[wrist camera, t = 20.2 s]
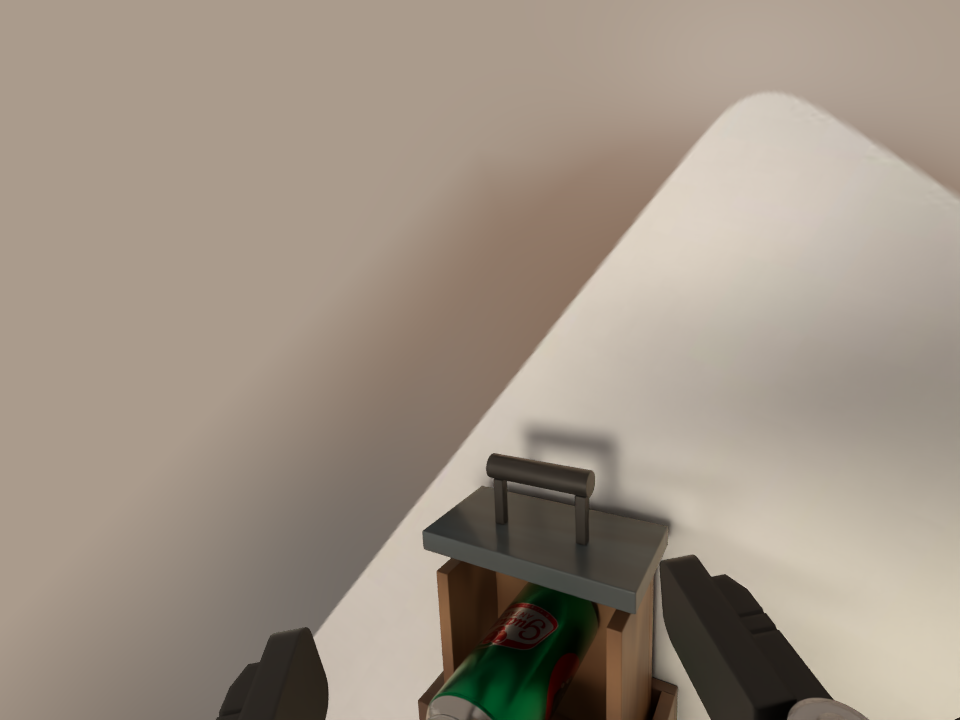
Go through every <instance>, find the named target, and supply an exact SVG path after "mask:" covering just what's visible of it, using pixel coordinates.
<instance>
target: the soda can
mask: <svg viewBox="0 0 960 720" xmlns="http://www.w3.org/2000/svg"><path fill="white" fill-rule="evenodd" d="M597 629H598V622H597V616H596V613H595V610H594V608H593V605H592V603H591V602H590V601H589V600H586V599H583V598H579V597H576V596H573V595H570V594H567V593H563V592H560V591H557V590H554V589H550V588H547V587H544V586H541V585H538V584H534V583H531V582H528V583H527V584H526V585H525V586H524V588H523V589H522V590H521V591H520V593H519V594H518V595H517V596H516V597H515V599H514V600H513V601H512V602H511V604H510V605H509V606H508V607H507V608H506V610H505V611H504V612H503V613H502V614H501V616H500V617H499V618H498V619H497V621H496V622H495V623H494V624H493V625H492V627H491V628H490V629H489V630H488V632H487V633H486V634H485V635H484V636H483V638H482V639H481V640H480V641H479V643H478V644H477V645H476V646H475V647H474V649H473V650H472V651H471V652H470V654H469V655H468V656H467V657H466V658H465V660H464V661H463V662H462V663H461V665H460V666H459V667H458V668H457V669H456V671H455V672H454V673H453V674H452V676H451V677H450V678H449V679H448V680H447V682H446V683H445V684H444V685H443V687H442V688H441V689H440V690H439V691H438V693H437V694H436V695H435V696H434V698H433V699H432V700H431V702H430V704H429V706H428V709H427V716H426V720H551V719H552V717H553V715H554V713H555V711H556V710H557V708H558V706H559V704H560V702H561V700H562V698H563V697H564V695H565V693H566V691H567V689H568V687H569V685H570V683H571V682H572V680H573V678H574V676H575V674H576V672H577V670H578V669H579V667H580V665H581V663H582V661H583V659H584V657H585V656H586V654H587V652H588V650H589V648H590V646H591V644H592V642H593V641H594V639H595V636H596V634H597Z"/></svg>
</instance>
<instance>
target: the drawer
mask: <svg viewBox="0 0 960 720" xmlns="http://www.w3.org/2000/svg"><path fill="white" fill-rule="evenodd" d="M486 471H487V475H488V476H489V477H491V478H494V488H489V487H485V486H481V487H480V488H479V489H477V490H476V491H475V492H473V493H472V494H471V495H469V496H468V497H467V498H465V499H464V500H463V501H462V502H460V503H459V504H458V505H456V506H455V507H454V508H452V509H451V510H450V511H448V512H447V513H446V514H444V515H443V516H442V517H440V518H439V519H438V520H436V521H435V522H434V523H433V524H431V525H430V526H429V527H427V528H426V529H425V530H423V532H422V533H423V547H424V549H425V550H428V551H432V552H435V553H438V554H441V555H444V556H448V557H451V559H450V560H449V561H447V562H446V563H445V564H444V565H443V566H442V567H441V568H440V569H438V570H437V584H438V598H439V612H440V626H441V641H442V655H443V669H444V683H446V682H447V680H448V679H449V678H450V677H451V676H452V674H453V673H454V672H455V671H456V669H457V668H458V667H459V666H460V665H461V663H462V662H463V661H464V660H465V658H466V657H467V656H468V655H469V654H470V652H471V651H472V650H473V649H474V647H475V646H476V645H477V644H478V643H479V641H480V640H481V639H482V638H483V636H484V635H485V634H486V633H487V632H488V630H489V629H490V628H491V627H492V625H493V624H494V623H495V622H496V621H497V619H498V618H499V617H500V616H501V614H502V613H503V612H504V611H505V610H506V608H507V607H508V606H509V605H510V604H511V602H512V601H513V600H514V599H515V597H516V596H517V595H518V594H519V593H520V591H521V590H522V589H523V588H524V586H525V585H526V584H527V583H528V582H531V583H534V584H538V585H541V586H544V587H547V588H550V589H554V590H557V591H560V592H563V593H567V594H570V595H573V596H576V597H579V598H583V599H586V600H589V601H590V602H591V603H592V605H593V608H594V610H595V613H596V616H597V622H598V629H597V634H596V636H595V639H594V641H593V642H592V644H591V646H590V648H589V650H588V652H587V654H586V656H585V657H584V659H583V661H582V663H581V665H580V667H579V669H578V670H577V672H576V674H575V676H574V678H573V680H572V682H571V683H570V685H569V687H568V689H567V691H566V693H565V695H564V697H563V698H562V700H561V702H560V704H559V706H558V708H557V710H556V711H555V713H554V715H553V717H552V719H551V720H651V684H652V631H653V578H654V573H655V571H656V569H657V567H658V565H659V563H660V560H661V558H662V556H663V554H664V552H665V549H666V547H667V545H668V526H664V525H659V524H655V523H650V522H646V521H641V520H637V519H632V518H627V517H623V516H618V515H614V514H609V513H604V512H600V511H595V510H591V509H589V497H590V496H591V495H592V493H593V490H594V486H595V474H594V472H593V471H591V470H586V469H580V468H575V467H569V466H563V465H558V464H552V463H546V462H541V461H535V460H530V459H524V458H518V457H513V456H507V455H501V454H496V453H493V454H491V455H490V457H489V459H488V461H487V466H486ZM507 481H511V482H516V483H520V484H525V485H530V486H535V487H540V488H545V489H550V490H554V491H559V492H564V493H569V494H574V495H576V496H575V506H572V505H568V504H563V503H558V502H554V501H549V500H545V499H540V498H535V497H531V496H526V495H522V494H517V493H512V492H508V491H507Z"/></svg>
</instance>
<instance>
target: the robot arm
mask: <svg viewBox="0 0 960 720" xmlns="http://www.w3.org/2000/svg"><path fill="white" fill-rule="evenodd" d="M660 579H661V593H662V607H663V617H664V622H665V626H666V629H667V632H668V635H669V638H670V640H671V643H672V645H673V647H674V649H675V651H676V653H677V655H678V657H679V658H680V660H681V662H682V664H683V666H684V668H685V670H686V672H687V674H688V676H689V678H690V680H691V682H692V684H693V686H694V688H695V689H696V691H697V693H698V695H699V697H700V699H701V701H702V703H703V705H704V707H705V709H706V711H707V713H708V715H709V717H710V719H711V720H868V719H867V718H866V717H865V716H864V715H862V714H861V713H859V712H858V711H856V710H855V709H853V708H851V707H849V706H847V705H845V704H843V703H840V702H838V701H835V700H834V699H833V698H832V697H831V696H830V695H829V694H828V692H827V691H826V690H825V689H824V687H823V686H822V685H821V683H820V682H819V681H818V680H817V678H816V677H815V676H814V674H813V673H812V672H811V671H810V669H809V668H808V667H807V665H806V664H805V663H804V662H803V660H802V659H801V658H800V656H799V655H798V654H797V653H796V651H795V650H794V649H793V647H792V646H791V645H790V644H789V642H788V641H787V640H786V638H785V637H784V636H783V634H782V633H781V632H780V631H779V630H777V629H776V625H775V624H774V623H773V622H772V620H771V619H770V618H769V616H768V615H767V614H766V613H764V612H763V609H762V607H761V606H760V605H759V604H758V602H757V601H756V600H755V598H754V597H753V596H752V595H751V593H750V592H749V591H748V589H746V588H745V587H743V586H742V585H740V584H739V583H737V582H736V581H734V580H733V579H731V578H730V577H728V576H727V575H726V574H724V575H719V576H713V577H711V576H710V575H709V573H708V572H707V570H706V569H705V567H704V566H703V565H702V563H701V562H700V560H699V559H698V558H697V557H696V556H695V555H688V556H683V557H678V558H672V559H667V560H662V561H661V562H660ZM328 695H329V694H328V682H327V678H326V674H325V671H324V668H323V665H322V663H321V660H320V657H319V654H318V651H317V648H316V645H315V642H314V639H313V636H312V634H311V631H310V629H309V628H307V627H305V628H299V629H294V630H289V631H283V632H278V633H274V634H272V635H271V636H270V638H269V640H268V642H267V645H266V648H265V650H264V653H263V655H262V658H261V661H260V662H258V663H253V664H248V665H247V667H246V668H245V669H244V670H243V671H242V673H241V674H240V675H239V677H238V678H237V679H236V680H235V681H234V683H233V684H232V686H231V687H230V688H229V690H228V693H227V695H226V698H225V700H224V702H223V704H222V707H221V709H220V712H219V717H217V719H216V720H325V718H326V714H327V709H328ZM955 720H960V717H959V718H957V719H955Z"/></svg>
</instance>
